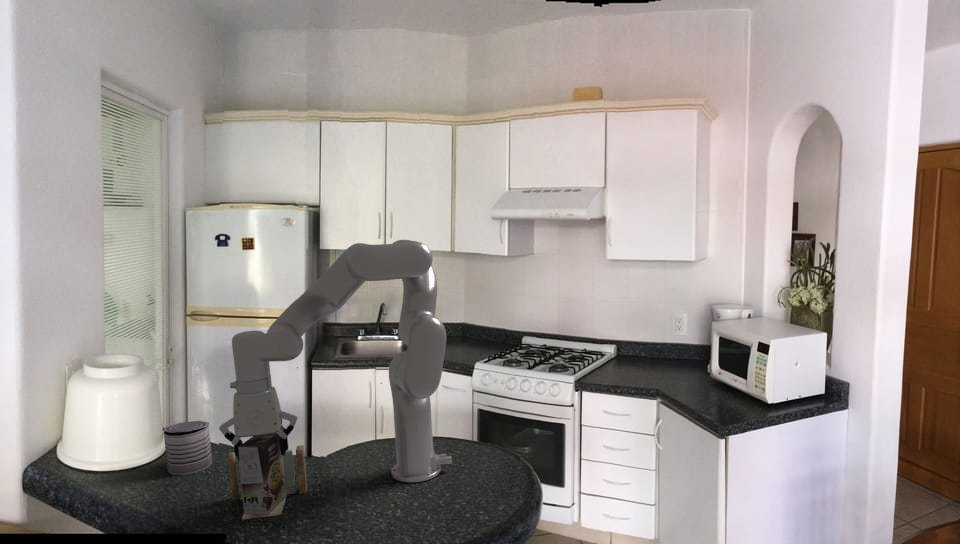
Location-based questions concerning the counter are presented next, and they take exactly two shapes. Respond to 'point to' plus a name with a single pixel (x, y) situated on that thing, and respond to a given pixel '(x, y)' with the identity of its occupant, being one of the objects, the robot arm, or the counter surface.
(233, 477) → the frame
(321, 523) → the counter surface
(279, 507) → the board
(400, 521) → the counter surface
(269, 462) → the coffee box
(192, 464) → the can
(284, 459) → the door
